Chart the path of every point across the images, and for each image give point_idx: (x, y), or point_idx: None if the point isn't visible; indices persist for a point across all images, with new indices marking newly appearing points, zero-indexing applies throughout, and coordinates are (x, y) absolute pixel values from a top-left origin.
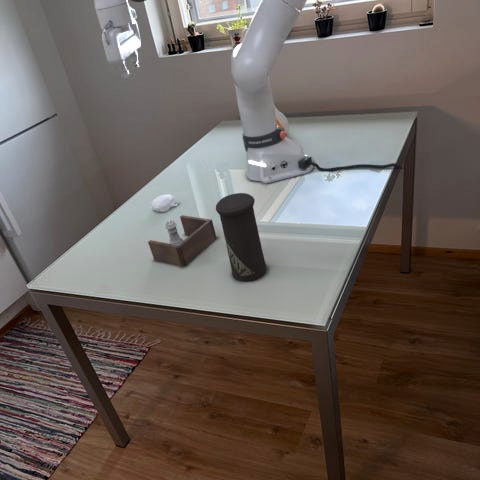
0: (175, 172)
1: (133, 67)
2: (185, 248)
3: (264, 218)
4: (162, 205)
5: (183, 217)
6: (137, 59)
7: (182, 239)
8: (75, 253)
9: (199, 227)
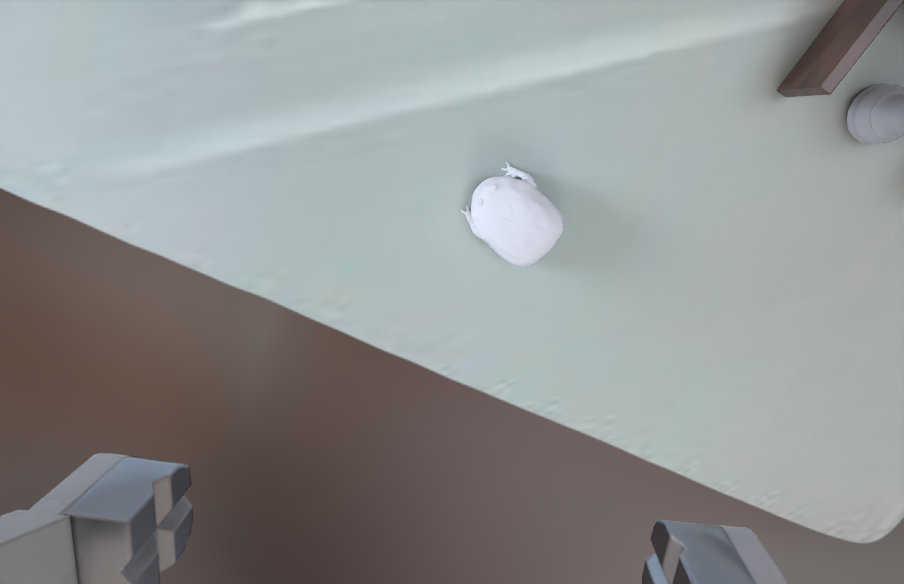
0: (187, 218)
1: (177, 540)
2: None
3: None
4: (559, 215)
5: (843, 76)
6: (7, 530)
7: (878, 90)
8: (728, 471)
9: None
